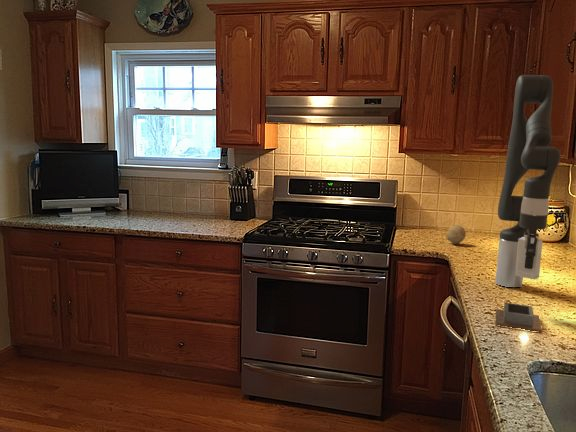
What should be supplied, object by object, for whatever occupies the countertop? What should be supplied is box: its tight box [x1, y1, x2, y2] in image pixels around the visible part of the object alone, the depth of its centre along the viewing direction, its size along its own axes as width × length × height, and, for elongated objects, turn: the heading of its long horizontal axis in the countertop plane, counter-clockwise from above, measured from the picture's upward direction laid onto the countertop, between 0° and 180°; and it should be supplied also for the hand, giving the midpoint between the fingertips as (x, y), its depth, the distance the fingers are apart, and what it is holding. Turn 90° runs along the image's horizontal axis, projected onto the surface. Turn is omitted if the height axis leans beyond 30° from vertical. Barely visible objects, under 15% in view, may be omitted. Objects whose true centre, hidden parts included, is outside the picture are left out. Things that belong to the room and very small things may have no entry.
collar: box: [494, 302, 543, 333], centre depth 152 cm, size 13×12×4 cm
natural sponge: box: [446, 224, 466, 245], centre depth 260 cm, size 9×9×10 cm
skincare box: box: [516, 237, 543, 280], centre depth 159 cm, size 6×4×12 cm
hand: (527, 265), depth 160 cm, fingers closed on skincare box, 5 cm apart
